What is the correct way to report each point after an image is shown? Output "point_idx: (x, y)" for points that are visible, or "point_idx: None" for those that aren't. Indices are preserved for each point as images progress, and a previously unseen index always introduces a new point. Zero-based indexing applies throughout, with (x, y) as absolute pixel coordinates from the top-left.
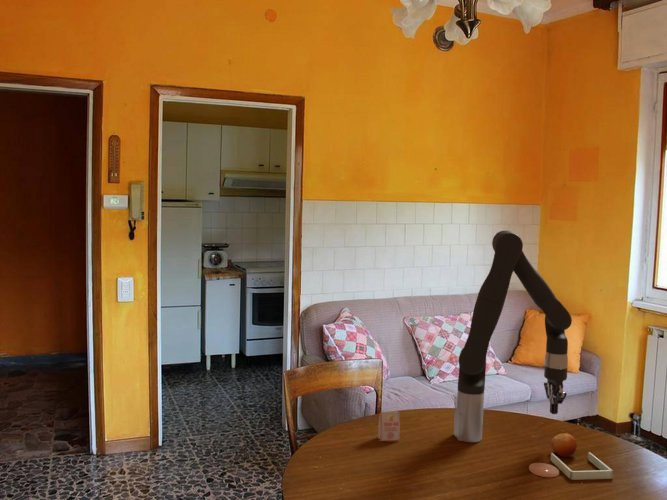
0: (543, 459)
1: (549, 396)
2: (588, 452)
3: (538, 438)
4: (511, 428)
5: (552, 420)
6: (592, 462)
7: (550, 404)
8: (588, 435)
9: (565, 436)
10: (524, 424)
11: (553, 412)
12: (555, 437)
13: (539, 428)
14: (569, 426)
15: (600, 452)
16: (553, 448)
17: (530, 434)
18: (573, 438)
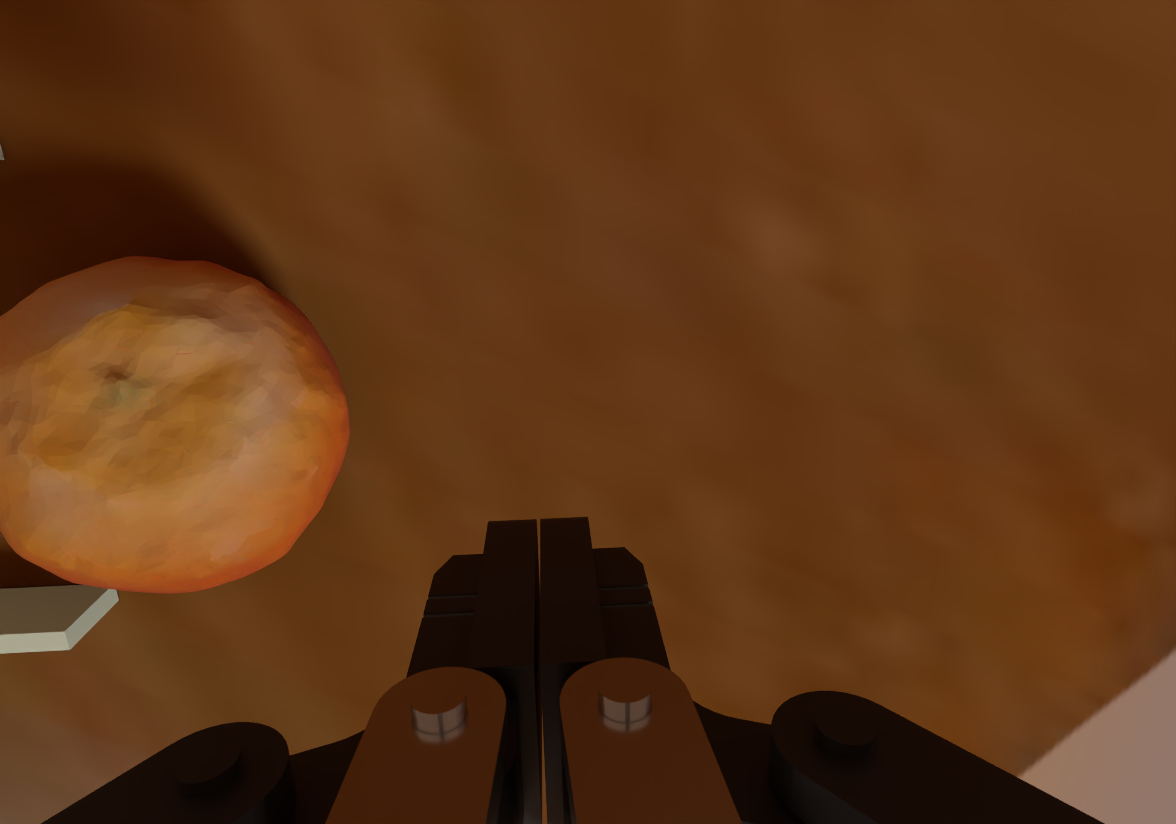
0: (16, 48)
1: (704, 808)
2: (64, 630)
3: (695, 275)
4: (1062, 28)
5: (1161, 645)
6: (12, 593)
7: (576, 625)
8: None
9: (27, 465)
10: (1142, 279)
11: (448, 562)
12: (158, 334)
13: (985, 416)
14: (972, 741)
15: None
16: (144, 256)
17: (827, 222)
18: (42, 566)
